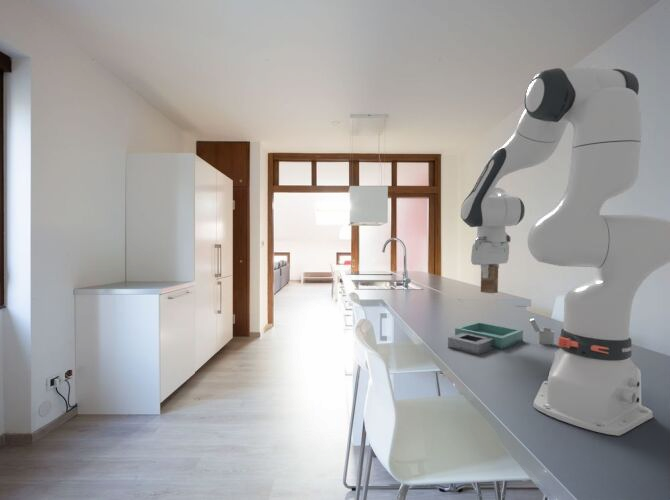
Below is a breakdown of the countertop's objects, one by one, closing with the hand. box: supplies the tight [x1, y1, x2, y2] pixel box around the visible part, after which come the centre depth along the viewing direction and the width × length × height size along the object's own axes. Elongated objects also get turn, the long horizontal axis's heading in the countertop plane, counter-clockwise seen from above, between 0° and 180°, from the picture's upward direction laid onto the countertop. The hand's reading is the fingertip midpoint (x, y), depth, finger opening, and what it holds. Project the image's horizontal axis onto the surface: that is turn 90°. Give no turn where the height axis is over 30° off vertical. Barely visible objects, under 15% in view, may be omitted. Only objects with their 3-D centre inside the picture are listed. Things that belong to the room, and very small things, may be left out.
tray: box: [454, 321, 524, 350], centre depth 120 cm, size 16×16×4 cm
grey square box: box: [447, 332, 495, 356], centre depth 110 cm, size 10×10×3 cm
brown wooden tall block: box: [480, 264, 499, 294], centre depth 119 cm, size 4×4×10 cm
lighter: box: [528, 317, 555, 346], centre depth 116 cm, size 7×2×8 cm, turn 71°
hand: (489, 277), depth 119 cm, fingers closed on brown wooden tall block, 4 cm apart
